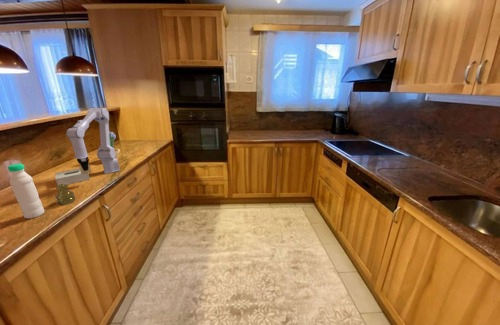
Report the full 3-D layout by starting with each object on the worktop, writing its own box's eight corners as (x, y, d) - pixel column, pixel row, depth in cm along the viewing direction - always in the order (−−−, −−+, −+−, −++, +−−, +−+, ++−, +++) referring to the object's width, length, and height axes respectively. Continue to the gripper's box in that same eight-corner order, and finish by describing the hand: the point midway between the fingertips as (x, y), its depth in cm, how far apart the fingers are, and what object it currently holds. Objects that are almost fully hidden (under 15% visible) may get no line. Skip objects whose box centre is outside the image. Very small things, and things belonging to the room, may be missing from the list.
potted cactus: (111, 164, 170) (103, 132, 162) (96, 162, 174) (87, 132, 165) (126, 158, 184) (120, 129, 176) (112, 157, 188) (105, 128, 180)
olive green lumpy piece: (64, 198, 116) (59, 181, 112) (79, 198, 116) (73, 181, 113) (53, 205, 109) (47, 187, 106) (69, 205, 109) (63, 187, 106)
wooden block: (90, 171, 134) (88, 163, 133) (91, 172, 132) (89, 164, 131) (81, 173, 131) (78, 165, 129) (81, 174, 129) (79, 166, 128)
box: (87, 173, 150) (85, 167, 149) (90, 179, 140) (88, 172, 139) (57, 180, 140) (55, 173, 139) (58, 186, 131) (55, 179, 129)
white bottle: (47, 213, 102) (29, 163, 94) (27, 221, 96) (5, 168, 88) (41, 209, 105) (23, 161, 97) (22, 216, 100) (0, 166, 91)
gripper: (70, 147, 129) (76, 168, 134) (72, 152, 119) (78, 174, 124) (84, 145, 134) (90, 165, 138) (87, 149, 124) (93, 171, 128)
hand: (85, 169), depth 131 cm, fingers closed on wooden block, 2 cm apart
